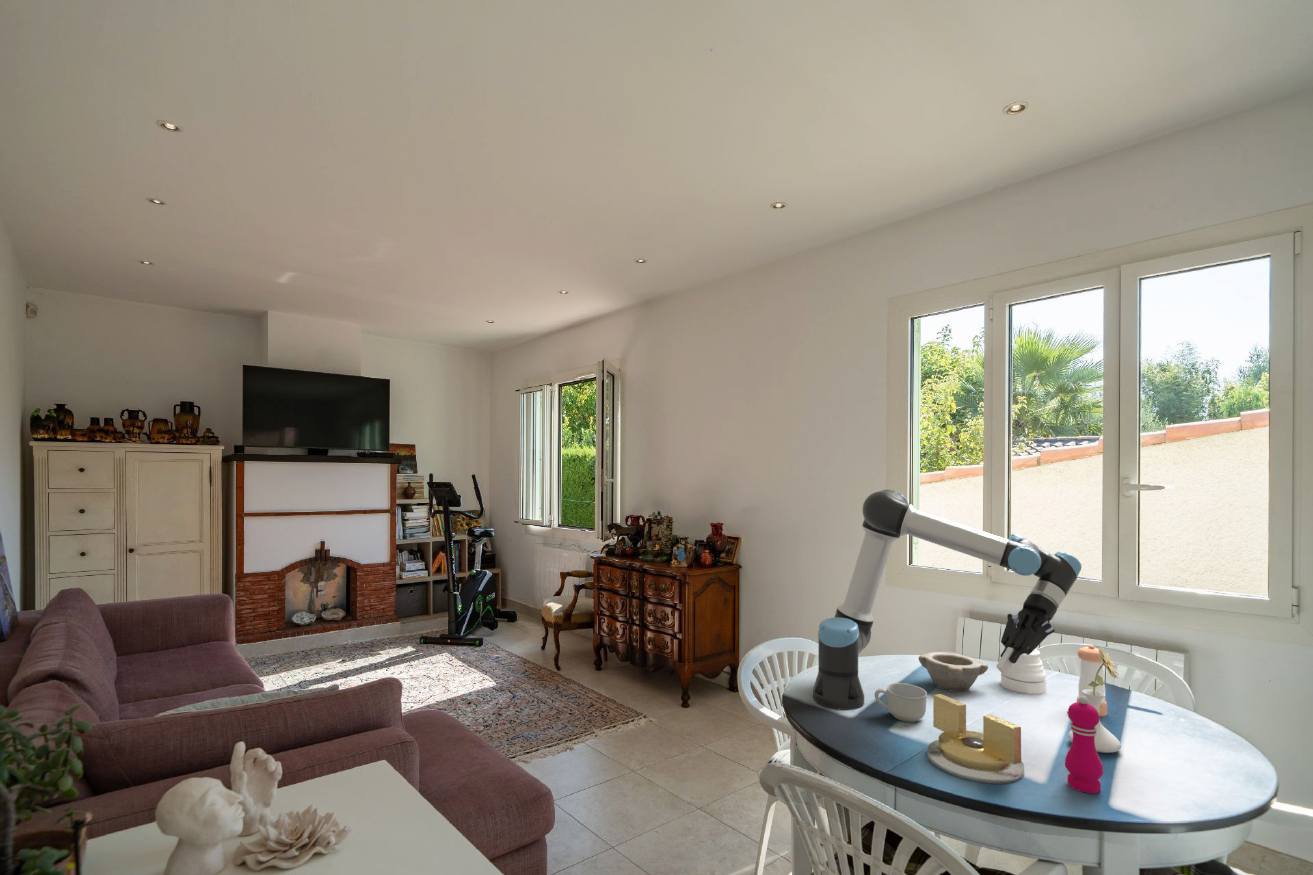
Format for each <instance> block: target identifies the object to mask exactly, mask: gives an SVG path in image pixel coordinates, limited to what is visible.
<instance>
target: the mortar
mask: <svg viewBox="0 0 1313 875" xmlns="http://www.w3.org/2000/svg"><path fill="white" fill-rule="evenodd" d="M918 662H919V663H920V665H921V667H923V668H925V670H927V671H926V672H927V673H928V675H929V677H930V679H931V681H932V682H933V684H934V685H935V686H936V687H938V688H939V689H942V690H945V691H949V692H950V691H951V692H965V691H968V690H970V688H972V686H973V685H974V683H975V682H976V680H977V679H978V677H979V676H980V675H981V676H982V675H984V674H985V673H986V672H987V671H988V669H989V666H988V664H987V663H986V662H983V661H980V660H977V659H975V658H973V657H971V656H968V655H963V654H959V653H956V652H954V651H934V652H927V653H922V654H920V655H919V656H918Z"/></svg>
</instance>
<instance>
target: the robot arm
mask: <svg viewBox="0 0 1313 875" xmlns="http://www.w3.org/2000/svg"><path fill="white" fill-rule="evenodd" d="M861 509H862V516H863V518H864V519H863V523H862V524H861V525H862V526H861V527H862V529H863V531H864V537H863V539H862V542H861V546H860V549H859V552H858V555H857V560H856V562H855V566H854V569H853V572H852V575H851V579H850V582H849V585H848V589H847V592H846V595H845V598H844V602H843V603H841V604H838V605H837V608H836V611H835V614H834V617H830V618H825V619H823V620H822V621H820V623H819V626H818V629H817V630H818V631H817V637H818V658H817V659H818V660H817V661H818V669H817V670H818V671H817V676H816V679H815V682H814V684H813V688H812V691H811V694H812V695H811V696H812V697H811V698H812V700H813V699H814V700H813V701H814V702H815V701H816V702H815V703H817V704H818V705H821V706H824V707H827V708H831V709H838V708H841V709H840V710H851V709H850V708H854V709H858V708H861V707H862V706H863V704H864V705H865V693H864V689H863V686H862V684H861V681H860V678H859V654H860V653H861V652H862V651H863V650H864V649H865V648H866V647H867V646H868V645H869V643H870V641H871V637H872V627H873V625H874V621H875V617H874V616H873V614H872V611H873V607H874V604H875V601H876V600H875V599H876V597H877V594H878V590H879V587H880V584H881V580H882V578H883V574H884V571H885V568H886V565H887V561H888V558H889V555H890V552H891V549H892V545H893V542H894V541H896V540H899V539H900V537H903V536H905V535H908V536H911V537H914V538H918V539H920V540H922V541H926V542H929V543H932V544H935V545H938V546H941V547H944V548H947V549H950V550H953V551H954V552H955V551H956V552H958V553H962V554H964V555H968V556H971V557H973V558H976V559H979V560H982V561H985V562H988V563H992V564H994V565H998V566H999V567H1002V568H1005V569H1008V570H1011V571H1012V572H1014V573H1015V574H1017V575H1020V576H1025V577H1026V576H1031V575H1032V576H1035V577H1037V578H1038V579H1037V582H1036V583H1035V584H1034V586H1033V588H1032V589H1031V590H1030V594H1028V595H1027V597H1026V599H1025V600H1024V602H1023V604H1022V605H1023V606H1022V609H1021V610H1019V611H1018V612H1017V614H1012V613H1007V617H1006V618H1007V621H1006V624H1005V627H1004V631H1003V633H1002V637H1001V639H1000V642H1001V644H1002V645H1003V646H1004V649H1003V650H1002V652H1001V654H1000V659H999V661H998V662H997V664H996V666H995V667H996V668H997V670H999V672H1000V674H1001V673H1004V674H1007V672H1008V670H1009V669H1010V667H1011V666H1012V664H1013V663H1014V664H1015V663H1016V662H1017V660H1018V658H1019V657H1020V655H1022V654H1027V655H1029V654H1030V653H1031V652H1032V651H1033V650H1034V649H1035V648H1036V649H1037V647H1038V646H1039V645H1040V644H1041V643H1042V642H1043V641H1044V640H1045V639H1046V638H1047V637H1048V636H1049V635H1051V634H1053V633H1054V632H1056V630H1055V628H1054V627H1053V625H1052V624H1051V623H1050V621H1052V620H1053V618H1054V616H1055V615H1056V613H1057V611H1058V609H1059V608H1060V606H1061V604H1062V603H1063V601H1064V599H1065V598H1066V596H1067V595H1068V593H1069V592H1070V590H1071V588H1072V587H1073V585H1074V584H1075V582H1076V581H1077V579H1078V576H1079V574H1080V572H1081V571H1082V567H1083V566H1082V563H1081V562H1080V560H1079V559H1078V558H1077V557H1075V556H1074V555H1073V554H1070V553H1066V552H1065V551H1057V552H1055V553H1054V554H1052V553H1050V552H1048V551H1046V550H1045V549H1043V548H1042V547H1039V546H1038V545H1036V544H1035V543H1034V542H1032V541H1030V540H1028V539H1027V538H1026V537H1024V536H1021V535H1020V534H1017V533H1011V534H1010V536H1009V537H1008V538H1003V537H1001V536H997V535H996V534H995V535H994V534H991V533H989V532H986V531H982V530H980V529H977V528H973V527H970V526H967V525H963V524H961V523H958V522H955V521H952V520H948V519H946V518H943V517H939V516H937V515H933V514H930V513H928V512H927V513H926V512H923V511H921V510H917V509H916V508H914V505H913V504H910V503H909V502H908V500H907V498H906V497H905V496H904V495H903V494H902V493H901V492H898V491H895V490H892V489H883V490H880V491H875V492H873V493H871V494H869V495H868V496H867V497H866V498H865V500H864V502H863V504H862V508H861ZM860 706H861V707H860Z"/></svg>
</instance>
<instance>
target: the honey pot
mask: <svg viewBox="0 0 1313 875" xmlns="http://www.w3.org/2000/svg"><path fill="white" fill-rule="evenodd" d="M1040 655H1041V652H1040V650H1038V649H1037V647H1036V648H1035V649H1034V650H1033V651H1032V652H1031V653H1030V654H1029V655H1027V654H1022V655H1020V657H1019V658H1018V660H1017V662H1016V663H1015V664H1014V663H1013V664H1012V666H1011V667H1010V669H1009V670H1008V672H1007V674H1004V673H1001V672H1000V684H1001V686H1002V687H1003V688H1005V689H1007V690H1010V691H1013V692H1018V693H1021V694H1030V695H1032V694H1033V695H1038V694H1039V695H1040V694H1045V693H1046V692H1047V672H1046V671H1045V668H1044V667H1045V666H1043V665H1044V664H1043V661H1042V660H1041V656H1040Z"/></svg>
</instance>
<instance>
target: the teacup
mask: <svg viewBox="0 0 1313 875" xmlns="http://www.w3.org/2000/svg"><path fill="white" fill-rule="evenodd" d="M881 693H883V694H884V696H885V698H886V702H884V701H882V700H881V699H880V698H879V694H881ZM927 696H928V692H927V691H926V690H925V689H924V688H922V687H920V686H917V685H914V684H911V683H905V682H896V683H895V682H894V683H890V684H888V685H887V686H886V689H884V688H878V689H876V690H875V692H874V699H875V701H876V702H877V703H878V704H879V705H880V706H882V707H883V708H884V709H885V710H886V711H888V712H889V713H890V714H891V715H892V716H893V717H894V718H895V719H897V720H899V721H902V722H907V723H908V722H909V723H914V722H918V721H919V720H920V719H922V718H923V717H924V716H925V714H926V711H927V710H926V709H927Z"/></svg>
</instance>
